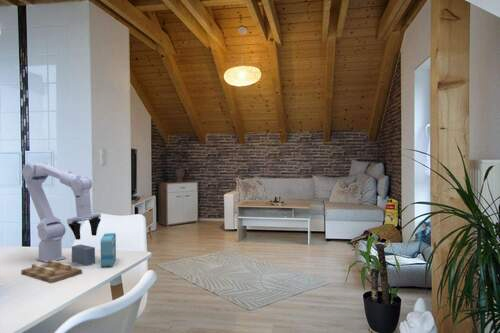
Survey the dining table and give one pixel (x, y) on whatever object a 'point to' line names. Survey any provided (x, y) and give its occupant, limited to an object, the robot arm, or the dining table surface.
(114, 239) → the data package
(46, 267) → the shelf board
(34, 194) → the robot arm
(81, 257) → the slate blue book
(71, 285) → the dining table surface
